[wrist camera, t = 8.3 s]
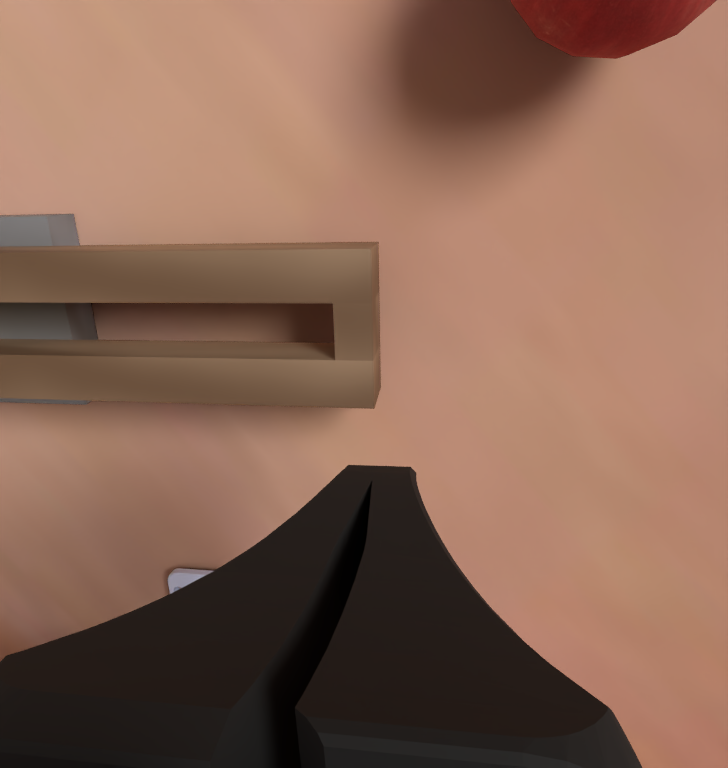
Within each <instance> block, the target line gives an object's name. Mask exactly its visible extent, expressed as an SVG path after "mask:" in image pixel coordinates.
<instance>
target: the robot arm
mask: <svg viewBox="0 0 728 768" xmlns="http://www.w3.org/2000/svg"><path fill="white" fill-rule="evenodd" d="M168 586H169V592H170V594H169V595H167V596H165V597H163V598H161V599H159V600H156V601H154V602H152V603H150V604H147V605H145V606H143V607H141V608H139V609H136V610H134V611H132V612H129V613H127V614H124V615H122V616H119V617H117V618H114V619H112V620H110V621H107V622H105V623H102V624H99V625H97V626H94V627H91V628H89V629H86V630H83V631H80V632H77V633H74V634H71V635H68V636H65V637H62V638H59V639H56V640H54V641H51V642H48V643H45V644H42V645H39V646H36V647H33V648H30V649H27V650H24V651H21V652H17V653H14V654H11V655H7V656H6V657H5V658H4V659H3V660H2V661H1V662H0V768H642V766H641V764H640V762H639V760H638V758H637V756H636V754H635V752H634V750H633V748H632V746H631V744H630V742H629V741H628V739H627V737H626V735H625V733H624V731H623V729H622V728H621V726H620V724H619V722H618V720H617V719H616V717H615V715H614V713H613V712H612V710H611V709H610V708H609V707H607V706H606V705H605V704H603V703H602V702H601V701H599V700H598V699H597V698H595V697H594V696H592V695H591V694H590V693H588V692H587V691H586V690H584V689H583V688H582V687H580V686H579V685H578V684H576V683H575V682H574V681H572V680H571V679H569V678H568V677H567V676H565V675H564V674H563V673H561V672H560V671H559V670H557V669H556V668H555V667H553V666H552V665H551V664H549V663H548V662H547V661H546V660H545V659H543V658H542V657H541V656H540V655H539V654H538V653H537V652H535V651H534V650H533V649H532V648H531V647H530V646H529V645H527V644H526V643H525V642H524V641H523V640H522V639H521V638H520V637H519V636H518V635H517V634H516V633H515V632H514V631H513V630H512V629H511V628H510V627H509V626H508V625H507V624H506V623H505V622H504V621H503V620H502V619H501V618H500V617H499V616H498V615H497V614H496V613H495V612H494V611H493V610H492V608H491V607H490V606H489V605H488V604H487V603H486V601H485V600H484V599H483V598H482V597H481V596H480V594H479V593H478V592H477V591H476V590H475V588H474V587H473V586H472V584H471V583H470V582H469V581H468V579H467V578H466V577H465V575H464V574H463V573H462V571H461V570H460V568H459V567H458V566H457V564H456V563H455V561H454V560H453V558H452V557H451V555H450V553H449V552H448V550H447V548H446V547H445V545H444V543H443V542H442V540H441V538H440V537H439V535H438V533H437V531H436V529H435V527H434V525H433V523H432V521H431V519H430V517H429V515H428V513H427V511H426V509H425V506H424V504H423V501H422V499H421V496H420V493H419V490H418V486H417V482H416V472H415V471H414V470H413V469H412V468H411V467H396V466H363V465H348V466H347V467H346V468H345V469H344V470H342V471H341V472H340V473H339V474H338V475H337V476H336V477H335V478H334V479H333V480H332V481H331V482H330V483H329V484H328V485H326V486H325V487H324V488H323V489H322V490H321V491H320V492H319V493H318V494H317V495H316V496H315V497H314V498H313V499H312V500H310V501H309V502H308V503H307V504H306V505H305V506H304V507H303V508H301V509H300V510H299V511H298V512H297V513H296V514H295V515H293V516H292V517H291V518H290V519H288V520H287V521H286V522H285V523H283V524H282V525H281V526H279V527H278V528H277V529H276V530H274V531H273V532H272V533H271V534H269V535H268V536H267V537H266V538H264V539H263V540H261V541H260V542H259V543H257V544H256V545H254V546H253V547H251V548H250V549H248V550H247V551H246V552H244V553H242V554H241V555H239V556H238V557H236V558H234V559H233V560H231V561H230V562H228V563H226V564H225V565H223V566H222V567H220V568H218V569H216V570H215V571H210V570H196V569H182V568H178V569H174V570H173V571H172V572H171V573H170V575H169V576H168ZM179 587H181V589H180V588H179Z"/></svg>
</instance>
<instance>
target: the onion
mask: <svg viewBox="0 0 728 768" xmlns="http://www.w3.org/2000/svg"><path fill="white" fill-rule="evenodd" d="M510 1H511V3H512V4H513V6H514V7H515V9H516V10H517V11H518V13H519V14H520V15H521V17H522V18H523V20H524V21H525V22H526V24H527V25H528V26H529V28H530V29H531V30H532V32H533V33H534V35H535V36H536V37H537V38H539V39H541V40H543V41H545V42H547V43H548V44H550V45H552V46H554V47H556V48H558V49H560V50H562V51H564V52H566V53H568V54H570V55H571V56H579V57H597V58H615V59H616V58H619V57H623V56H626V55H629V54H631V53H634V52H636V51H639V50H641V49H643V48H646V47H648V46H651V45H653V44H655V43H658V42H660V41H663V40H665V39H667V38H670V37H672V36H675V35H677V34H678V33H679V32H680V31H682V30H683V29H684V28H685V27H686V26H687V25H689V24H690V23H691V22H692V21H693V20H694V19H695V18H697V17H698V16H699V15H700V14H701V13H702V12H704V11H705V10H706V9H707V8H708V7H709V6H711V5H712V4H713V3H714V2H715V1H716V0H510Z"/></svg>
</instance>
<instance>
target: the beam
mask: <svg viewBox="0 0 728 768" xmlns="http://www.w3.org/2000/svg"><path fill="white" fill-rule="evenodd" d="M91 303H333V320H334V343H301V342H221V341H140V340H98V337H97V332H96V327H95V322H94V317H93V311H92V306H91ZM380 388H381V370H380V303H379V242H330V243H248V244H166V245H84V246H80V244H79V239H78V234H77V229H76V224H75V219H74V214H45V215H0V402H16V403H50V404H84V405H86V404H88V403H89V402H91V401H122V402H157V403H193V404H228V405H264V406H299V407H334V408H370V409H374V408H375V404H376V401H377V398H378V395H379V391H380Z"/></svg>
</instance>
